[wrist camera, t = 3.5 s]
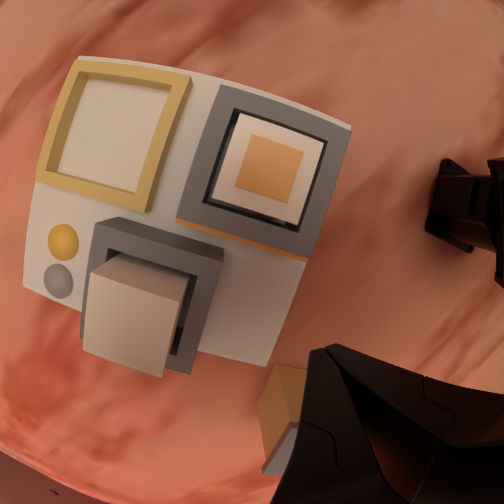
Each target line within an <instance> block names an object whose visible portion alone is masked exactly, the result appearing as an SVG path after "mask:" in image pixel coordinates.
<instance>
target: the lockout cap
mask: <svg viewBox="0 0 504 504" xmlns="http://www.w3.org/2000/svg"><path fill="white" fill-rule="evenodd" d="M306 374H307V370H305V369H299V368H294V367H289V366H283V365H278V364H275V365H274V367H273V370H272V372H271V374H270V376H269V379H268V381H267V383H266V385H265V388H264V390H263V392H262V394H261V396H260V399H259V401H258V403H257V407H258V413H259V420H260V426H261V432H262V438H263V444H264V450H265V456H266V462H265V463H264V465H263V466H262V474H265V475H281V476H283V473H284V471H285V469H286V466H287V464H288V461H289V459H290V456H291V453H292V450H293V447H294V443H295V439H296V434H297V429H298V424H299V419H300V413H301V407H302V401H303V394H304V387H305V381H306Z"/></svg>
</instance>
